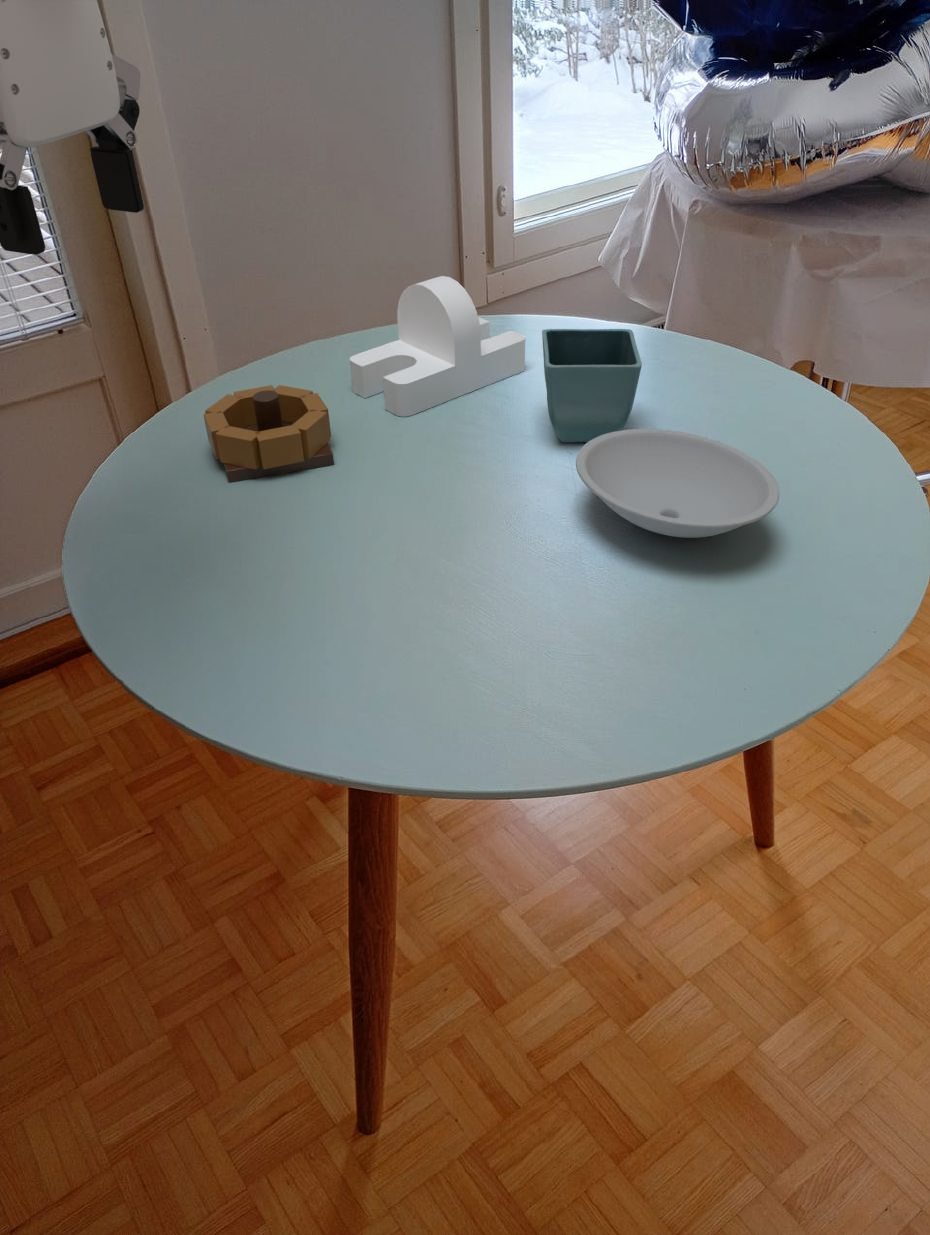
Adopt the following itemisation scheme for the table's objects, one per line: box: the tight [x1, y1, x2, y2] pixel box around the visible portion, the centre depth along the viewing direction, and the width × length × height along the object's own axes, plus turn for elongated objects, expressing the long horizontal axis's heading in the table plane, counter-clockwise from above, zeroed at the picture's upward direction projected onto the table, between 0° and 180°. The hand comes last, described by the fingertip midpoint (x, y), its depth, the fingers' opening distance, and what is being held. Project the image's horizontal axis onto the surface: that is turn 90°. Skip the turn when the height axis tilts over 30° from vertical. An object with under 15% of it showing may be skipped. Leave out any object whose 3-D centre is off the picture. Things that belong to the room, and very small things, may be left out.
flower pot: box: [541, 328, 643, 443], centre depth 95 cm, size 9×9×9 cm
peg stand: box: [223, 390, 335, 483], centre depth 94 cm, size 10×10×6 cm
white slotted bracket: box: [349, 275, 526, 418], centre depth 105 cm, size 10×18×11 cm, turn 131°
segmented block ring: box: [203, 384, 332, 470], centre depth 94 cm, size 11×11×3 cm
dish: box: [575, 428, 780, 539], centre depth 83 cm, size 18×14×5 cm
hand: (76, 229), depth 66 cm, fingers open, 9 cm apart
